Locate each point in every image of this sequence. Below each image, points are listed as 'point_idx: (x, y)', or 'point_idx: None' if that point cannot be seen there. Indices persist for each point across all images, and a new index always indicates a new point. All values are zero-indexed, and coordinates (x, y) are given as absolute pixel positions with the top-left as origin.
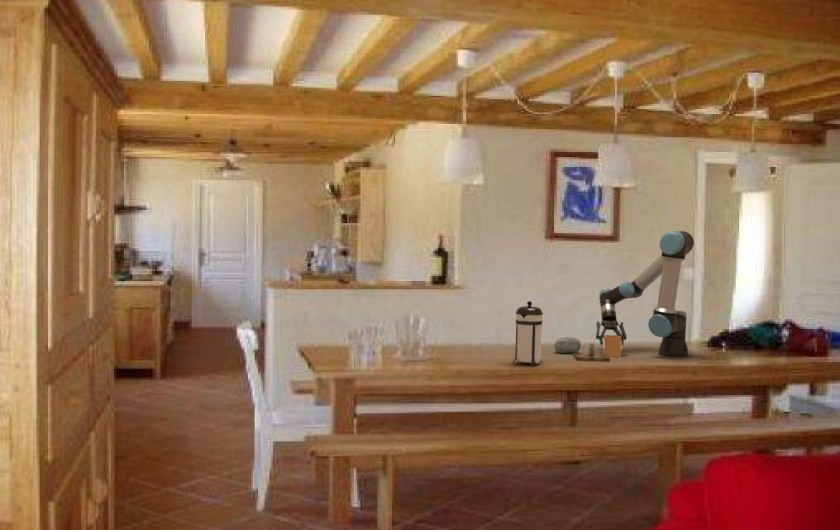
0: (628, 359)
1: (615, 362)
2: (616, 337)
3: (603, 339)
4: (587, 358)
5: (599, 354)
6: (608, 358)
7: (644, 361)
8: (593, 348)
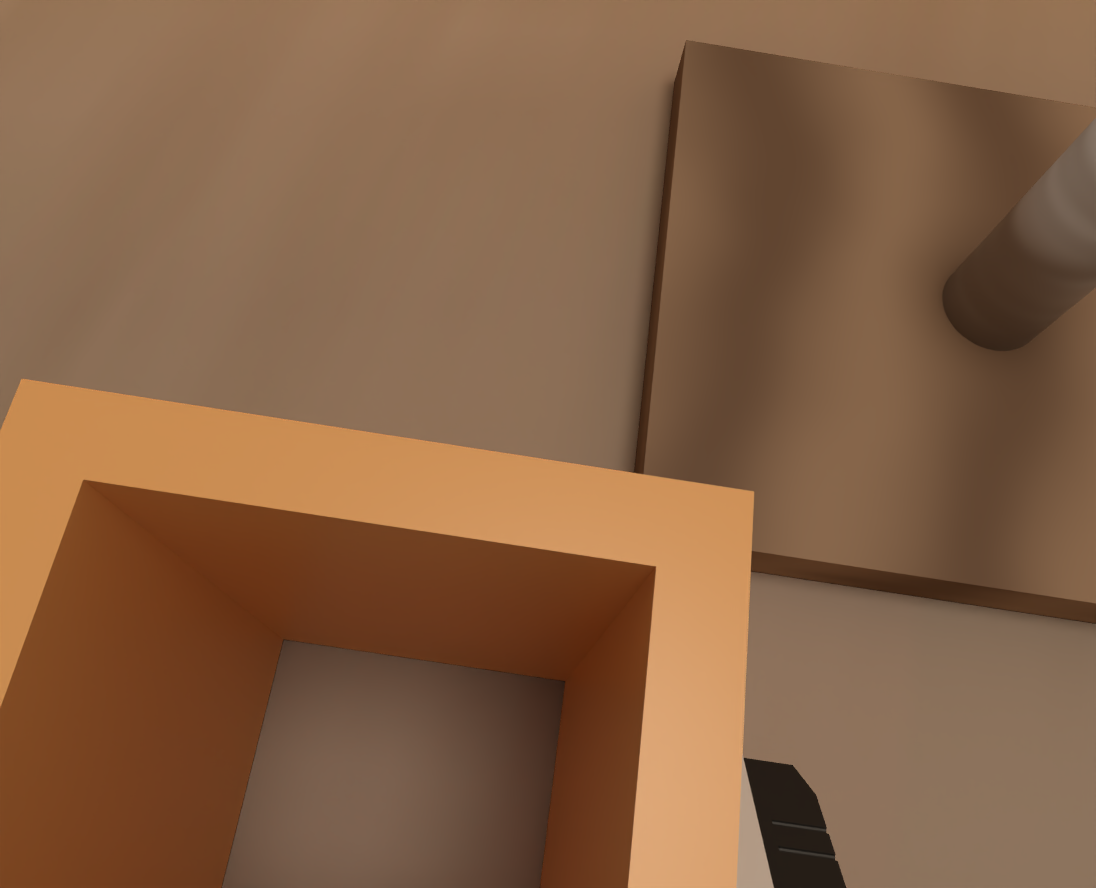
0: (216, 287)
1: (599, 18)
2: (247, 413)
3: None
4: (1072, 113)
5: (790, 485)
6: (711, 44)
7: (8, 89)
8: (1056, 161)
